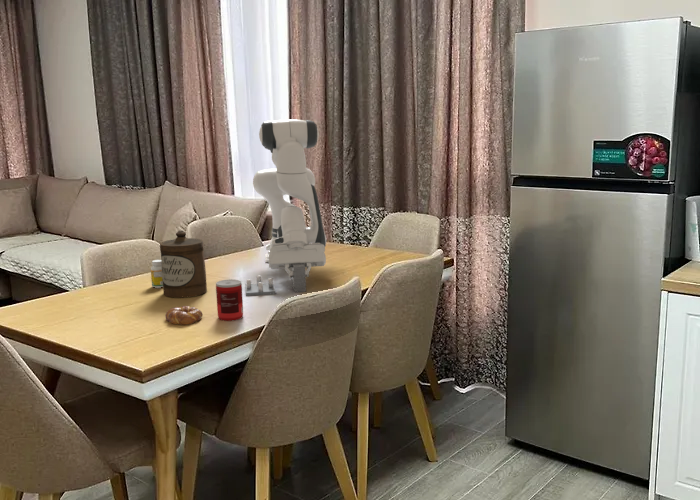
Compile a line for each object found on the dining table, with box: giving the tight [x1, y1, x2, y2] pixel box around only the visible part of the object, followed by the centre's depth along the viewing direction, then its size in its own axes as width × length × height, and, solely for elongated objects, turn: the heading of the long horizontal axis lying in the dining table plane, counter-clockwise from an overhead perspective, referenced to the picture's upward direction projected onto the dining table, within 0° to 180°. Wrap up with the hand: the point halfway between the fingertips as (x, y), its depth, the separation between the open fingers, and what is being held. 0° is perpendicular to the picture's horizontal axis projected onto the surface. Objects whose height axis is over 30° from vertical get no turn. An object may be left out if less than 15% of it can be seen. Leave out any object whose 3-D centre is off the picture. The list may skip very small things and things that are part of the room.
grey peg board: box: [244, 275, 277, 297], centre depth 239 cm, size 13×10×4 cm
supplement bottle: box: [150, 259, 163, 289], centre depth 248 cm, size 5×5×10 cm
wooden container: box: [159, 230, 208, 299], centre depth 237 cm, size 15×15×22 cm
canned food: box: [215, 278, 244, 322], centre depth 206 cm, size 8×8×11 cm
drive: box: [291, 263, 307, 293], centre depth 239 cm, size 7×4×9 cm, turn 10°
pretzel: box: [165, 305, 203, 326], centre depth 206 cm, size 12×11×4 cm
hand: (298, 276), depth 238 cm, fingers closed on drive, 4 cm apart
